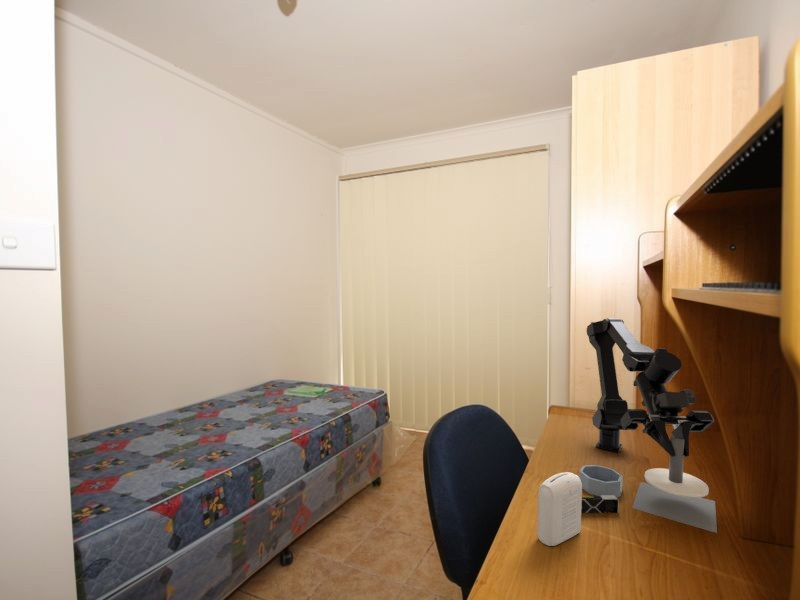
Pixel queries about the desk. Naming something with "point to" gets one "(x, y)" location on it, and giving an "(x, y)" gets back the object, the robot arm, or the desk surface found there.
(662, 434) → the robot arm
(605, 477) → the bowl
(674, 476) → the lid
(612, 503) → the graphics card
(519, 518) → the desk surface
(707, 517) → the mat
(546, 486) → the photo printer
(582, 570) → the desk surface
